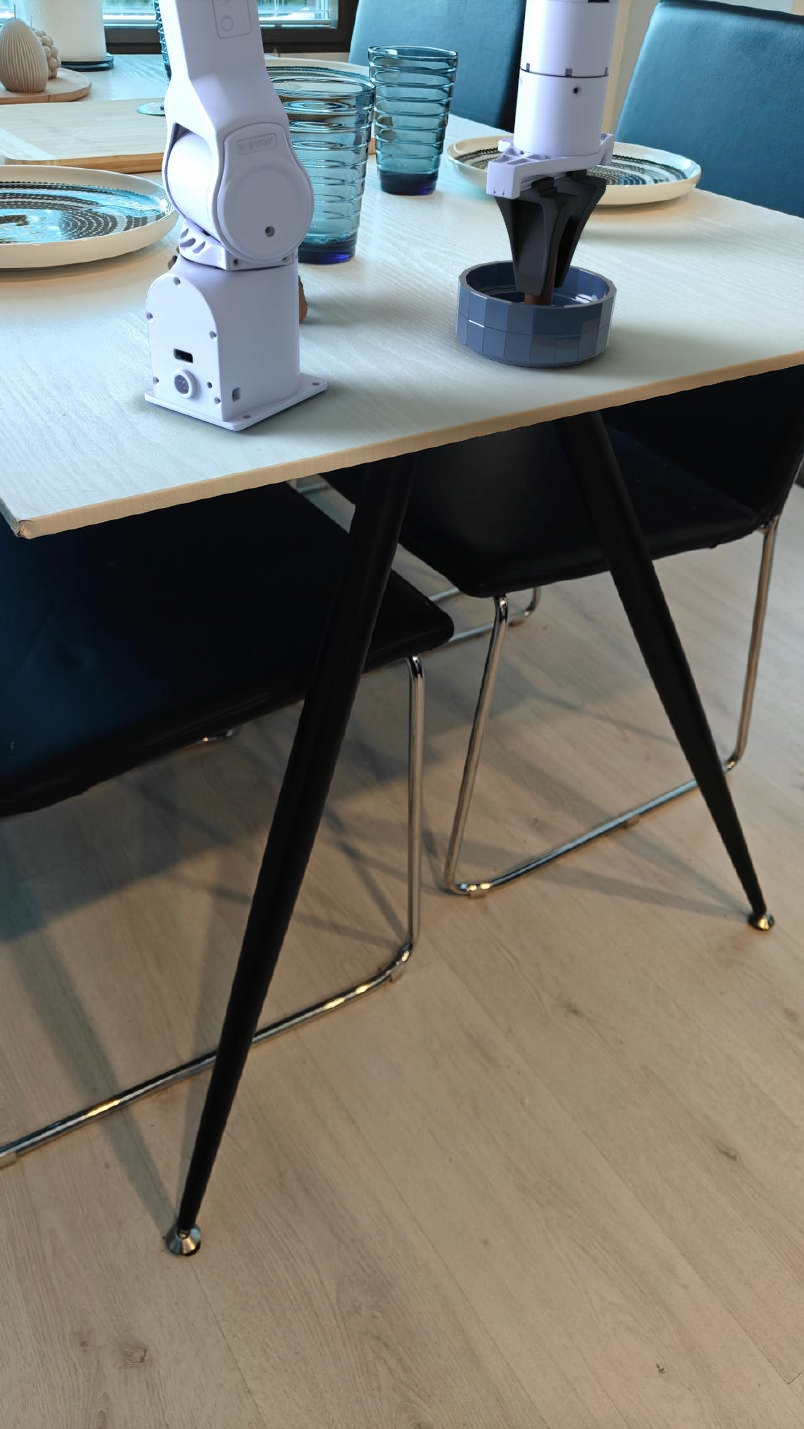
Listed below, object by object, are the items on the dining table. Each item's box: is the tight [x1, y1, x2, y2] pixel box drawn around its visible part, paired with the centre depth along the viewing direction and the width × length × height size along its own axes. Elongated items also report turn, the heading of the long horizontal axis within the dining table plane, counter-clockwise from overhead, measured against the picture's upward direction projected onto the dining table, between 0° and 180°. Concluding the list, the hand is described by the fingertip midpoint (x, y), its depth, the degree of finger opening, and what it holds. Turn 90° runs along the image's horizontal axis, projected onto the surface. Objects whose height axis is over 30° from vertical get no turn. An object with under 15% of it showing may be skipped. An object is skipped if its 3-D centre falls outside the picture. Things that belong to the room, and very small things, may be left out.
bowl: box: [454, 259, 618, 369], centre depth 81 cm, size 11×11×4 cm
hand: (539, 289), depth 78 cm, fingers closed
